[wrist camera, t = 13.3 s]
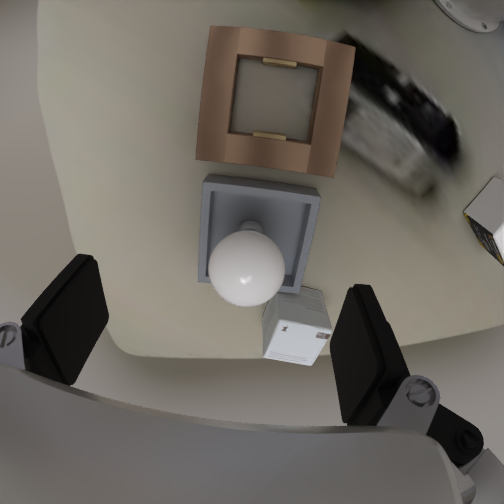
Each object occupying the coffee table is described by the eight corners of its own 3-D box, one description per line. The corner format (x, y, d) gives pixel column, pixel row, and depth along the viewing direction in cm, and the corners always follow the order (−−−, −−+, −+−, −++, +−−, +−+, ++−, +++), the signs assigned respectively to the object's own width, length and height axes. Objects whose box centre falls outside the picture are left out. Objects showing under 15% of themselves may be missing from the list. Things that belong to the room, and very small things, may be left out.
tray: (316, 188, 30) (321, 197, 28) (296, 278, 35) (298, 293, 33) (208, 174, 30) (202, 181, 27) (202, 267, 35) (197, 281, 32)
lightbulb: (291, 238, 32) (302, 302, 23) (242, 265, 34) (234, 333, 24) (259, 190, 30) (257, 237, 20) (208, 221, 32) (185, 279, 22)
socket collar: (348, 51, 23) (355, 47, 21) (328, 171, 29) (333, 177, 27) (214, 31, 23) (210, 25, 21) (200, 155, 29) (195, 159, 27)
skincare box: (261, 316, 38) (261, 358, 32) (276, 278, 36) (278, 319, 29) (305, 325, 39) (311, 367, 33) (323, 290, 36) (334, 330, 30)
